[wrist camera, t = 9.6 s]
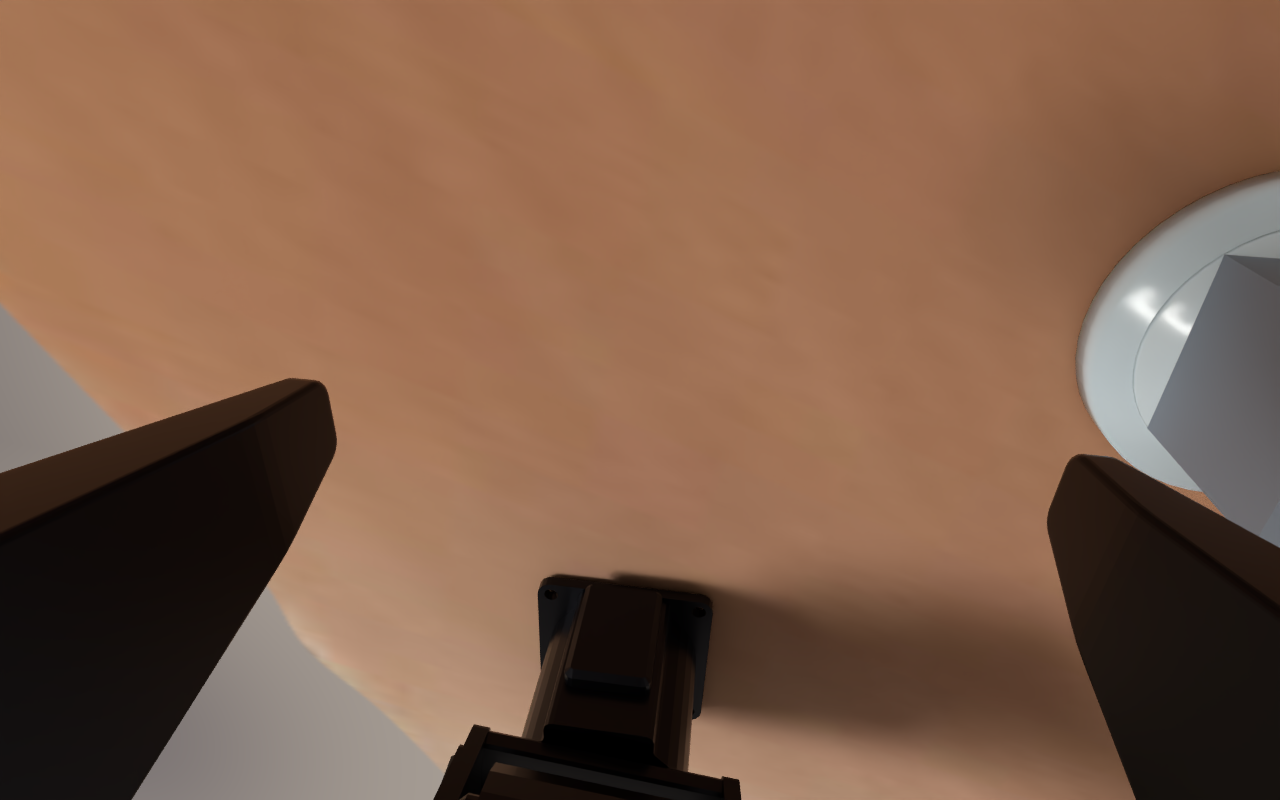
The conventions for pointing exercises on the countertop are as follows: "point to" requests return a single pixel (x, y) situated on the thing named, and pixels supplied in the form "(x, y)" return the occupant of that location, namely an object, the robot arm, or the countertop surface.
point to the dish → (1164, 313)
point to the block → (1231, 396)
